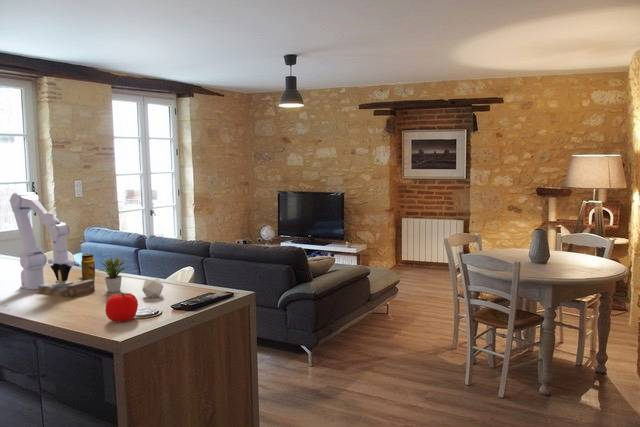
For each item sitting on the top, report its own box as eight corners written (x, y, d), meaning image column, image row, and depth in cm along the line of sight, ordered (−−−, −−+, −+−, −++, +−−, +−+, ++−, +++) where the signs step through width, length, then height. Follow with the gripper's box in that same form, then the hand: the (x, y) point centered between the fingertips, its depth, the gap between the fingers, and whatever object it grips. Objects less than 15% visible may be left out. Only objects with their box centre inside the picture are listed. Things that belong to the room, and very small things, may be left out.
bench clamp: (37, 292, 235) (36, 281, 234) (60, 286, 246) (59, 275, 245) (72, 297, 226) (71, 286, 225) (94, 291, 236) (94, 280, 236)
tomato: (122, 327, 186) (121, 298, 185) (98, 323, 191) (96, 295, 189) (146, 317, 197) (145, 290, 196) (123, 314, 201) (121, 287, 200)
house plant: (128, 294, 230) (127, 257, 228) (95, 296, 227) (92, 259, 225) (133, 286, 244) (131, 251, 242) (101, 288, 241) (99, 253, 239)
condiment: (97, 279, 260) (96, 255, 258) (78, 281, 255) (77, 257, 254) (94, 276, 266) (93, 252, 264) (76, 278, 261) (74, 254, 260)
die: (162, 294, 232) (148, 277, 231) (170, 288, 226) (156, 270, 226) (148, 305, 226) (134, 287, 225) (156, 298, 220) (142, 280, 220)
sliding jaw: (52, 288, 234) (51, 271, 233) (65, 285, 240) (63, 268, 239) (60, 289, 232) (59, 272, 231) (72, 286, 238) (71, 269, 237)
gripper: (41, 250, 234) (43, 281, 235) (64, 253, 228) (66, 284, 229) (54, 248, 240) (56, 277, 242) (77, 250, 234) (79, 280, 236)
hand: (62, 280), depth 236 cm, fingers closed on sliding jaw, 3 cm apart
